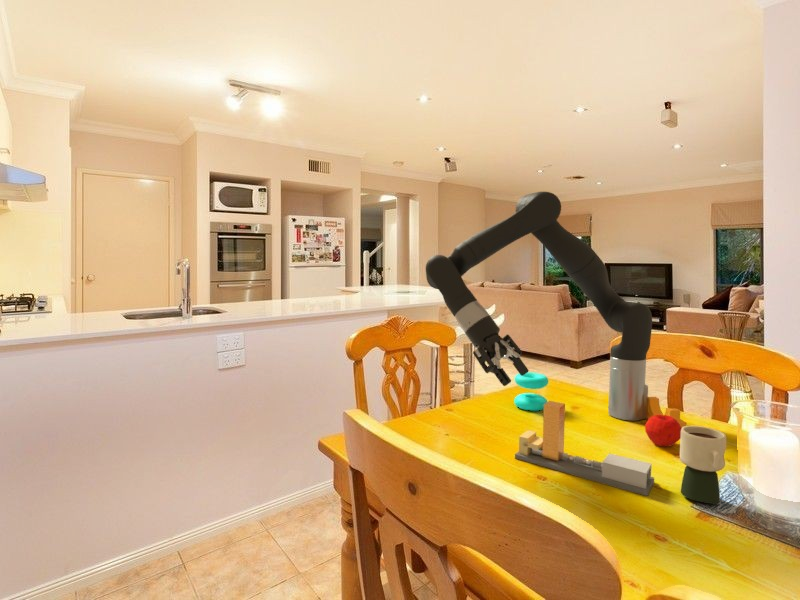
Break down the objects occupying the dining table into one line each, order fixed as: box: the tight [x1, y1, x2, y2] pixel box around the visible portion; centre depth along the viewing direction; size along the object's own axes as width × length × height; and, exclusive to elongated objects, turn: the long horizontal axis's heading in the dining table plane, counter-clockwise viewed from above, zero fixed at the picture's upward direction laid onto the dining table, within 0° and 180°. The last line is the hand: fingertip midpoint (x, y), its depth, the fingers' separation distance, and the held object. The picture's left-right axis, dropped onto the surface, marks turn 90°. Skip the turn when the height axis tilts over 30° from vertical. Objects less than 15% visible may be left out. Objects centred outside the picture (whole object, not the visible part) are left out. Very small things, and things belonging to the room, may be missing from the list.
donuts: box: [513, 371, 549, 412], centre depth 140 cm, size 10×10×10 cm
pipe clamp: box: [646, 396, 688, 428], centre depth 124 cm, size 12×4×6 cm, turn 179°
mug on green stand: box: [679, 425, 727, 505], centre depth 85 cm, size 11×7×13 cm, turn 172°
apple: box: [644, 414, 682, 447], centre depth 111 cm, size 8×8×7 cm
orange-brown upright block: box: [532, 400, 603, 470], centre depth 99 cm, size 16×4×12 cm, turn 51°
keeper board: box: [514, 429, 655, 497], centre depth 98 cm, size 27×7×5 cm, turn 51°
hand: (517, 378), depth 107 cm, fingers open, 8 cm apart
